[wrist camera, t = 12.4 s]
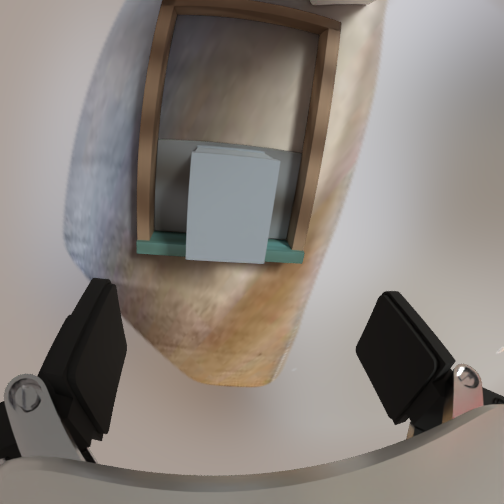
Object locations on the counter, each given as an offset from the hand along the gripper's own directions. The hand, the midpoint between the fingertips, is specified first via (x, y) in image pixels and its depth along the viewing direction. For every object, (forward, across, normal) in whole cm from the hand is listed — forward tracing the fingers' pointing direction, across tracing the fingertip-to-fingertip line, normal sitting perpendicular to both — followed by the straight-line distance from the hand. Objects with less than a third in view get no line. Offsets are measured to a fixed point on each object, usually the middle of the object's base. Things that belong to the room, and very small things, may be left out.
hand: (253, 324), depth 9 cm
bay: (+20, 0, -6) cm, 21 cm away
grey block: (+19, 0, 0) cm, 19 cm away
